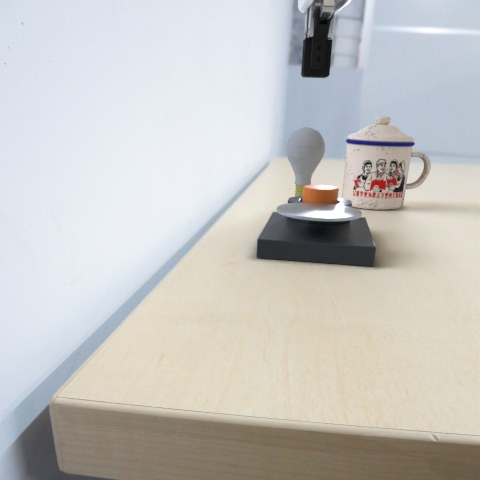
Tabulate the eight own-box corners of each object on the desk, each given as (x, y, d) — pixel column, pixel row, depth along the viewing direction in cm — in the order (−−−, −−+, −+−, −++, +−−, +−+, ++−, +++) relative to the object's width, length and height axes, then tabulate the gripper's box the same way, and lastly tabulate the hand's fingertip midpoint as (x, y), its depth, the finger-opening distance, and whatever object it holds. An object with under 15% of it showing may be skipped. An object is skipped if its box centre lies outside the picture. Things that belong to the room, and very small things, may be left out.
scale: (273, 224, 56) (274, 193, 55) (362, 230, 55) (366, 198, 53) (256, 258, 43) (258, 218, 42) (373, 266, 42) (379, 225, 40)
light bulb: (300, 196, 76) (306, 126, 72) (328, 201, 72) (335, 128, 68) (275, 199, 73) (279, 126, 69) (302, 204, 69) (307, 127, 65)
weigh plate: (336, 204, 49) (336, 201, 49) (378, 219, 43) (378, 216, 42) (264, 206, 47) (264, 203, 47) (296, 223, 40) (297, 219, 40)
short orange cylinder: (302, 200, 53) (304, 183, 53) (336, 202, 53) (338, 185, 52) (301, 206, 50) (302, 188, 49) (337, 208, 49) (339, 190, 49)
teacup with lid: (346, 209, 66) (357, 115, 62) (333, 198, 75) (342, 115, 70) (435, 212, 67) (452, 119, 62) (412, 200, 75) (425, 118, 71)
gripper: (385, -145, 46) (361, 74, 53) (347, -87, 60) (332, 81, 67) (306, -150, 46) (292, 72, 53) (286, -90, 60) (277, 79, 67)
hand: (314, 76), depth 60 cm, fingers closed
